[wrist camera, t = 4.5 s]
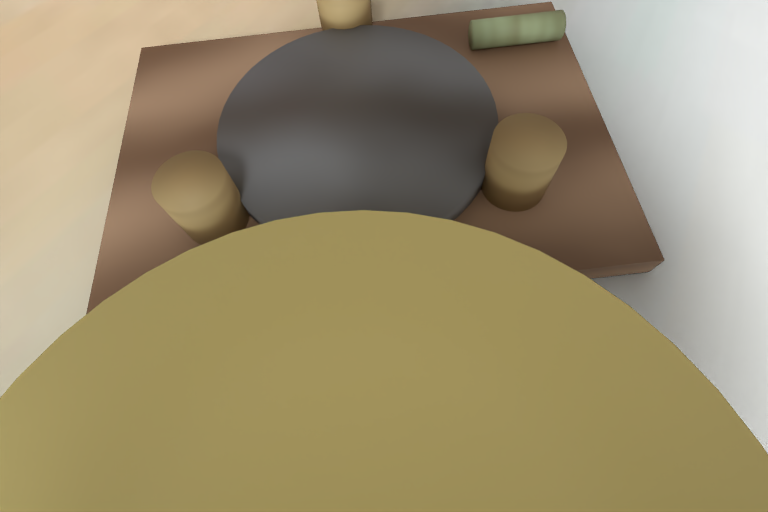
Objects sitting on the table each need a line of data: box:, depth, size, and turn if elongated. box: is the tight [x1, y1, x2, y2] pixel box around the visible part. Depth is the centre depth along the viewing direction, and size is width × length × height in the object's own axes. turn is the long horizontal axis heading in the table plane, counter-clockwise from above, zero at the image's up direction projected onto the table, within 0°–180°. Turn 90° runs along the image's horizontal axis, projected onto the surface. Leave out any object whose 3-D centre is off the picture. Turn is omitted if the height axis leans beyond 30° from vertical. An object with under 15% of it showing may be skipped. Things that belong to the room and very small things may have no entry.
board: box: [86, 0, 664, 315], centre depth 17 cm, size 15×20×4 cm
